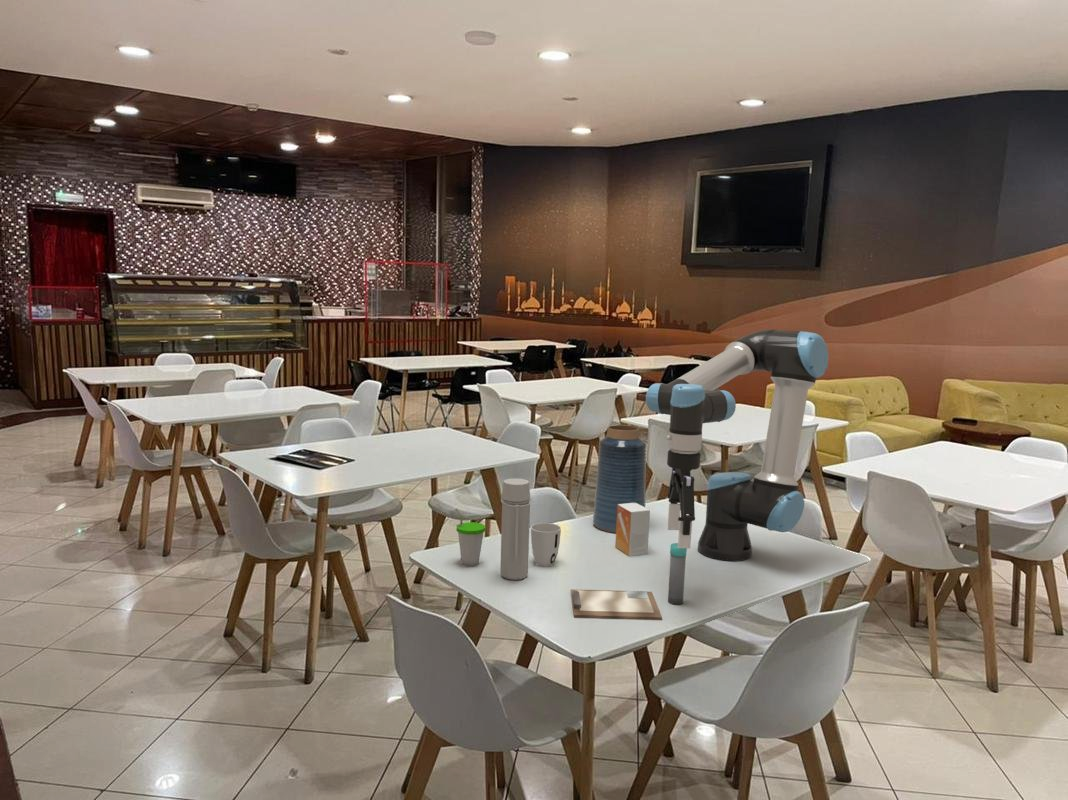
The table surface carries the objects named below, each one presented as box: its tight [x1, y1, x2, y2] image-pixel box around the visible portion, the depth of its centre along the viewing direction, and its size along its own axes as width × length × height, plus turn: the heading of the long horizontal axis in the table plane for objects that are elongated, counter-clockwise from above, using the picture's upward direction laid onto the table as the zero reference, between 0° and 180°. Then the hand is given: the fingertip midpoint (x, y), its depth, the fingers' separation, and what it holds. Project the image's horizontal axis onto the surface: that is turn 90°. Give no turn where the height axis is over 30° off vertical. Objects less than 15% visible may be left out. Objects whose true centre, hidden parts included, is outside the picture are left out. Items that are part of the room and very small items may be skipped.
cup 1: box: [455, 507, 486, 568], centre depth 206 cm, size 8×8×15 cm
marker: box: [667, 542, 688, 606], centre depth 185 cm, size 4×4×14 cm
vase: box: [592, 424, 647, 534], centre depth 242 cm, size 16×16×32 cm
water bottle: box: [499, 477, 533, 581], centre depth 197 cm, size 9×8×25 cm
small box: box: [614, 503, 651, 557], centre depth 221 cm, size 8×6×13 cm
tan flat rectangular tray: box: [570, 588, 663, 621], centre depth 183 cm, size 20×15×2 cm
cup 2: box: [530, 522, 562, 567], centre depth 209 cm, size 8×8×10 cm
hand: (678, 538), depth 184 cm, fingers open, 13 cm apart
